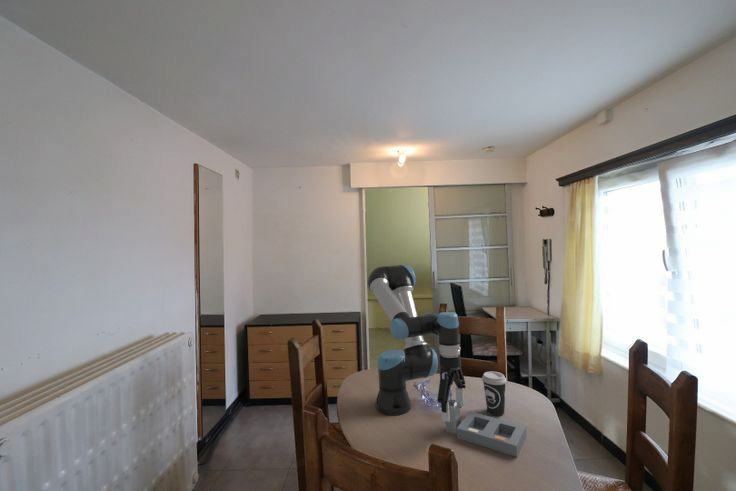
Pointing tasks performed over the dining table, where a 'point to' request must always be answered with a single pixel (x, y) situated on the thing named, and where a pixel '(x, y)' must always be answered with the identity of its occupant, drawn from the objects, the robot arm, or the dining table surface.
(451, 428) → the plug
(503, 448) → the socket board
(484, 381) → the coffee cup
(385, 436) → the dining table surface
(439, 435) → the dining table surface
